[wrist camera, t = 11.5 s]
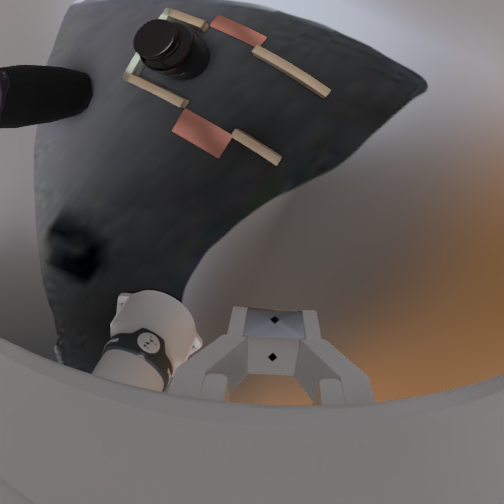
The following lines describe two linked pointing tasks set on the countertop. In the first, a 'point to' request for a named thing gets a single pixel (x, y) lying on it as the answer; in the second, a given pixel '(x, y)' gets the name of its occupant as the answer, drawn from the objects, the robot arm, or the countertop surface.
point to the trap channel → (189, 122)
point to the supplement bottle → (171, 49)
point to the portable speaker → (41, 94)
